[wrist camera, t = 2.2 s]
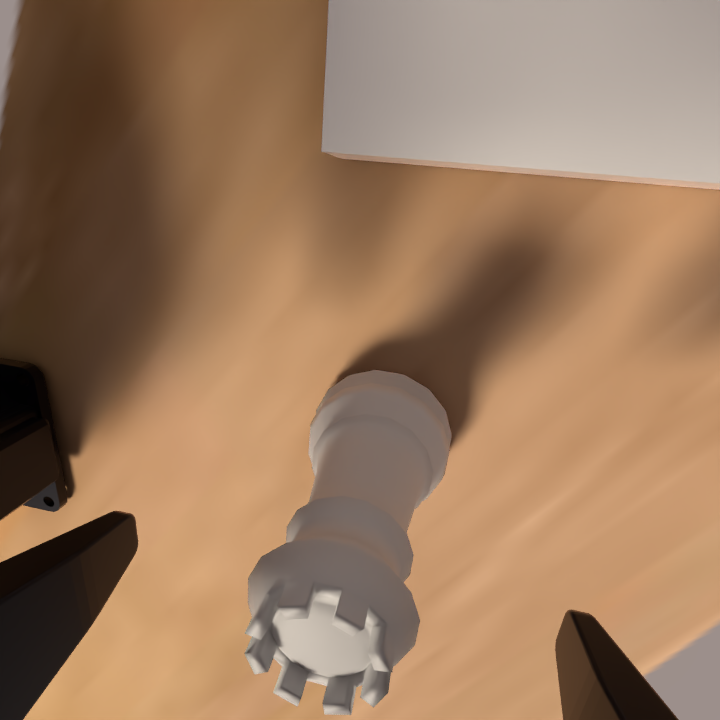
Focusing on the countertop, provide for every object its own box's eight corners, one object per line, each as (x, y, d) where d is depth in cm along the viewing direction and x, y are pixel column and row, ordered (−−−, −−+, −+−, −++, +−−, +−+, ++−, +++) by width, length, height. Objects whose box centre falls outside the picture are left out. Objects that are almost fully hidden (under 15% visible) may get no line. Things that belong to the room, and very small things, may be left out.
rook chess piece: (389, 505, 16) (336, 781, 8) (293, 425, 15) (146, 641, 8) (481, 428, 14) (519, 688, 7) (375, 336, 13) (287, 502, 6)
